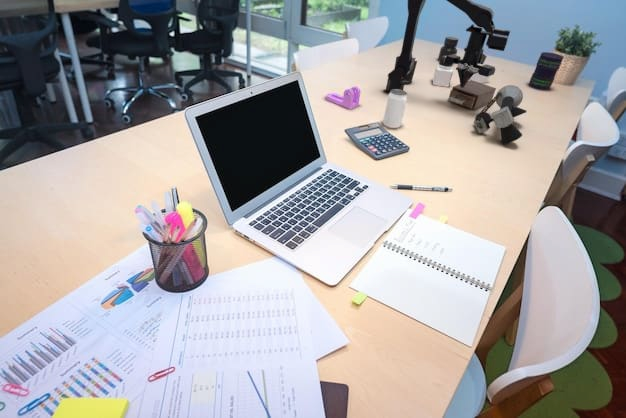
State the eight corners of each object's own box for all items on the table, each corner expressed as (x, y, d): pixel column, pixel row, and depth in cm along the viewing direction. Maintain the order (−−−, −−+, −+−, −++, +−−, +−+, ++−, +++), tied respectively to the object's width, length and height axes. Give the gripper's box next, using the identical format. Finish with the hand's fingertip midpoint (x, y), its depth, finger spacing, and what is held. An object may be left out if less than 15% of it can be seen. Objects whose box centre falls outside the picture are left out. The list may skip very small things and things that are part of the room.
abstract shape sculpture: (489, 126, 160) (479, 154, 137) (477, 99, 157) (464, 122, 134) (530, 110, 150) (526, 136, 128) (517, 80, 147) (510, 102, 125)
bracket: (358, 105, 152) (361, 87, 148) (349, 109, 148) (352, 91, 144) (332, 95, 158) (334, 78, 154) (323, 98, 155) (325, 81, 150)
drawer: (464, 111, 154) (468, 100, 151) (441, 102, 159) (444, 92, 157) (487, 101, 165) (490, 91, 163) (464, 93, 171) (467, 83, 168)
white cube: (477, 78, 194) (481, 65, 190) (487, 82, 190) (491, 69, 186) (469, 79, 191) (473, 66, 188) (478, 83, 187) (482, 70, 184)
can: (402, 123, 141) (410, 91, 134) (398, 130, 136) (405, 97, 129) (385, 119, 143) (392, 87, 136) (380, 125, 138) (386, 92, 131)
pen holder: (389, 82, 178) (394, 59, 172) (394, 76, 185) (398, 54, 179) (410, 86, 175) (415, 63, 170) (413, 80, 183) (418, 58, 177)
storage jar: (523, 83, 193) (536, 52, 184) (539, 83, 196) (552, 52, 187) (538, 90, 185) (552, 58, 176) (554, 90, 188) (568, 58, 179)
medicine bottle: (448, 87, 179) (456, 60, 172) (433, 85, 180) (440, 58, 172) (447, 82, 184) (455, 56, 177) (432, 80, 185) (439, 54, 178)
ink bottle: (456, 64, 210) (463, 41, 203) (440, 63, 210) (446, 39, 203) (451, 59, 218) (457, 36, 211) (435, 58, 218) (441, 35, 211)
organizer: (473, 110, 158) (478, 95, 154) (448, 100, 164) (452, 86, 161) (491, 102, 167) (496, 88, 164) (466, 93, 174) (471, 80, 170)
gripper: (508, 49, 144) (493, 90, 153) (463, 37, 154) (451, 77, 164) (495, 53, 138) (480, 96, 147) (448, 40, 148) (437, 81, 157)
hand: (462, 87), depth 154 cm, fingers closed
